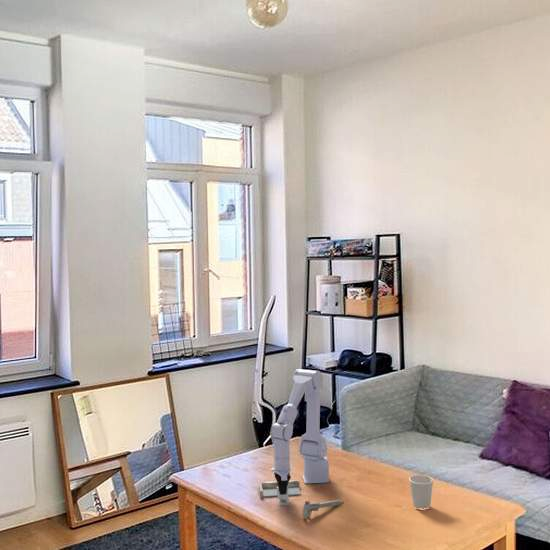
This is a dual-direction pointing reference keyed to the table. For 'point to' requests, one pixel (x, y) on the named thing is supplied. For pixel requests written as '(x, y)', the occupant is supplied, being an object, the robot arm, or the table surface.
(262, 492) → the side wall
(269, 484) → the back wall
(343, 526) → the table surface
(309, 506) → the caliper
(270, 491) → the board
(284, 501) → the bracket
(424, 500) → the dixie cup
